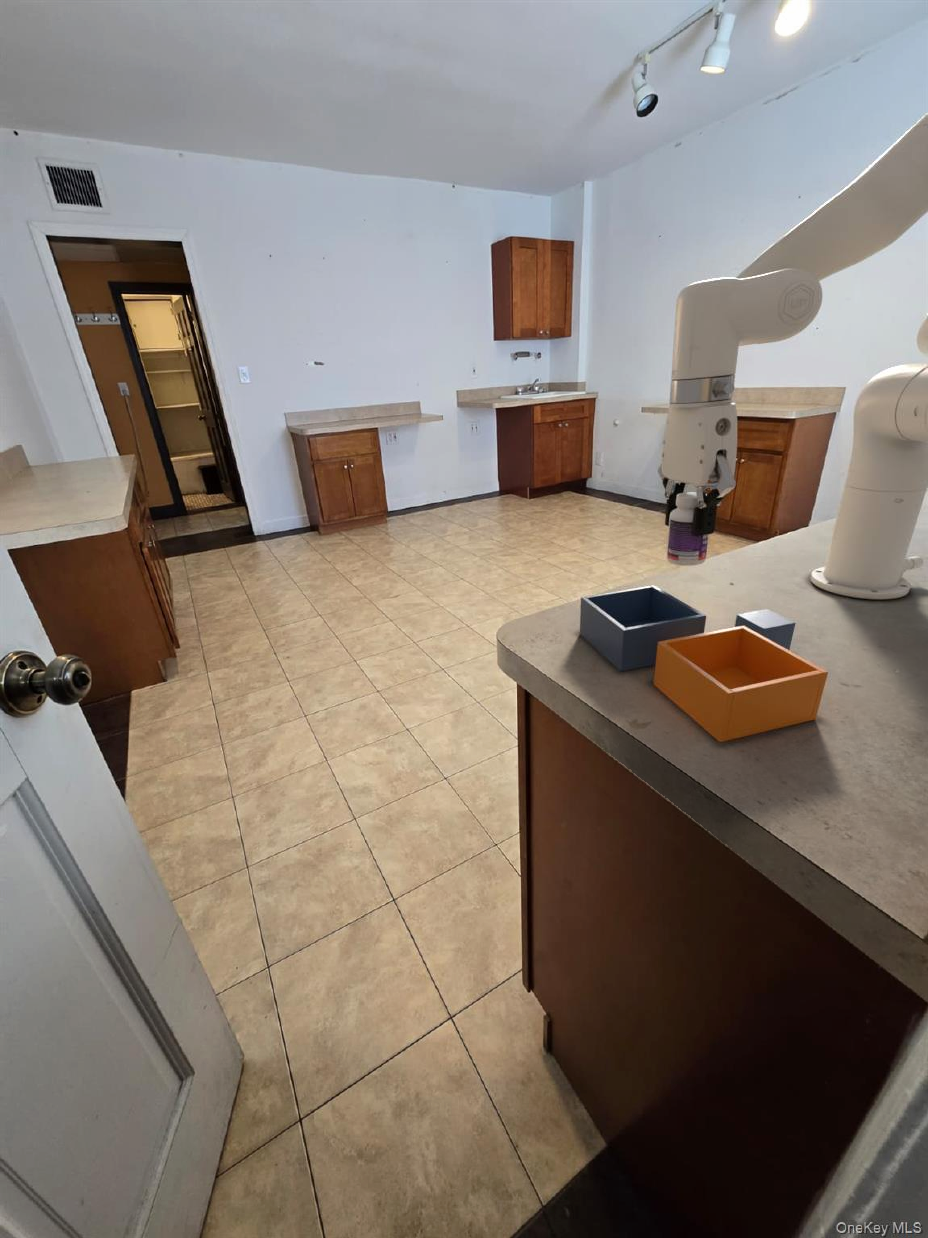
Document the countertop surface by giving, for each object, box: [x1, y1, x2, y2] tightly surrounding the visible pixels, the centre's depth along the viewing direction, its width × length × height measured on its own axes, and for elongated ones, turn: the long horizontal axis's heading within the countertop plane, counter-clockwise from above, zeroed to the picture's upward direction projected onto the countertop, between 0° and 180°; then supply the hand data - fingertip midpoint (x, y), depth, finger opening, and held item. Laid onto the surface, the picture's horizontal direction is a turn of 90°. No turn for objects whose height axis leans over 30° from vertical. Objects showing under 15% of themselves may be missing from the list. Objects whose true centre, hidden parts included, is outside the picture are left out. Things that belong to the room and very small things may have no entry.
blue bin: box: [579, 584, 707, 672], centre depth 67 cm, size 11×11×6 cm
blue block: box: [734, 608, 796, 651], centre depth 64 cm, size 4×4×4 cm
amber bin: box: [653, 626, 829, 743], centre depth 54 cm, size 11×11×6 cm
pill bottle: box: [666, 491, 710, 567], centre depth 74 cm, size 5×5×10 cm
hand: (688, 528), depth 74 cm, fingers closed on pill bottle, 5 cm apart
